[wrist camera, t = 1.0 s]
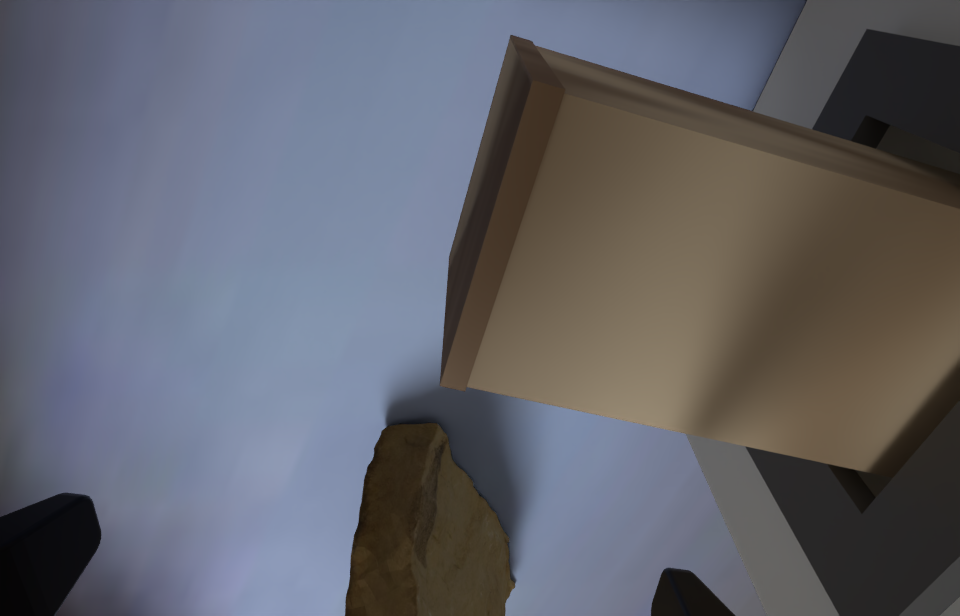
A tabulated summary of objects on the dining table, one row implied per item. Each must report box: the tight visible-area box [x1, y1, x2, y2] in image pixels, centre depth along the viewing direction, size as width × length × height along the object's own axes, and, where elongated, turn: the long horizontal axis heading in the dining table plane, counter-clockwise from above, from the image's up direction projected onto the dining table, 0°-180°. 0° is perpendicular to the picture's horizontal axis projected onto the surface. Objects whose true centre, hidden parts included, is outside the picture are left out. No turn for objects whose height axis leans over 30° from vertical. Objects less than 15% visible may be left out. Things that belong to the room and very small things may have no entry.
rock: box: [345, 423, 515, 616], centre depth 23 cm, size 11×9×10 cm
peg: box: [440, 35, 960, 478], centre depth 11 cm, size 12×5×5 cm, turn 75°
